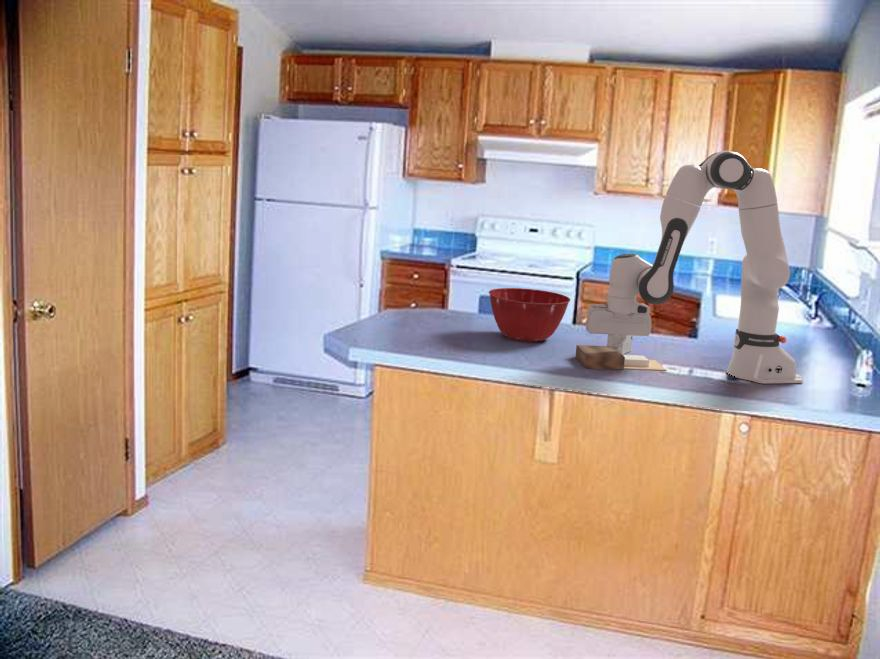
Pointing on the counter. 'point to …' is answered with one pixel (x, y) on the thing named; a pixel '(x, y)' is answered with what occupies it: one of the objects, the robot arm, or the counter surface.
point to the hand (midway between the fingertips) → (616, 348)
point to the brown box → (599, 357)
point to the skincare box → (625, 345)
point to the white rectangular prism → (635, 360)
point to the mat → (652, 366)
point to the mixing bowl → (527, 312)
